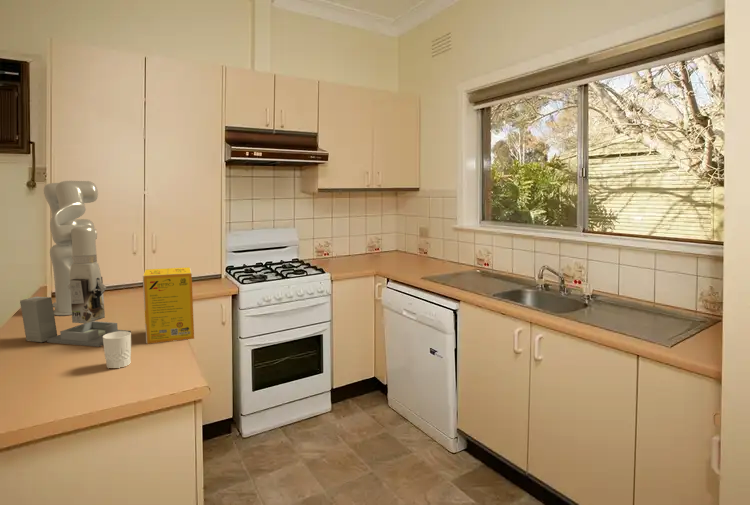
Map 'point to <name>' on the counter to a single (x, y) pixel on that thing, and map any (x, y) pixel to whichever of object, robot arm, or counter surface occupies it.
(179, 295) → the packaging box
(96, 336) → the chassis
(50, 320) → the skincare box
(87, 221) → the robot arm
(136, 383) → the counter surface
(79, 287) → the coffee box
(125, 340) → the white cup
